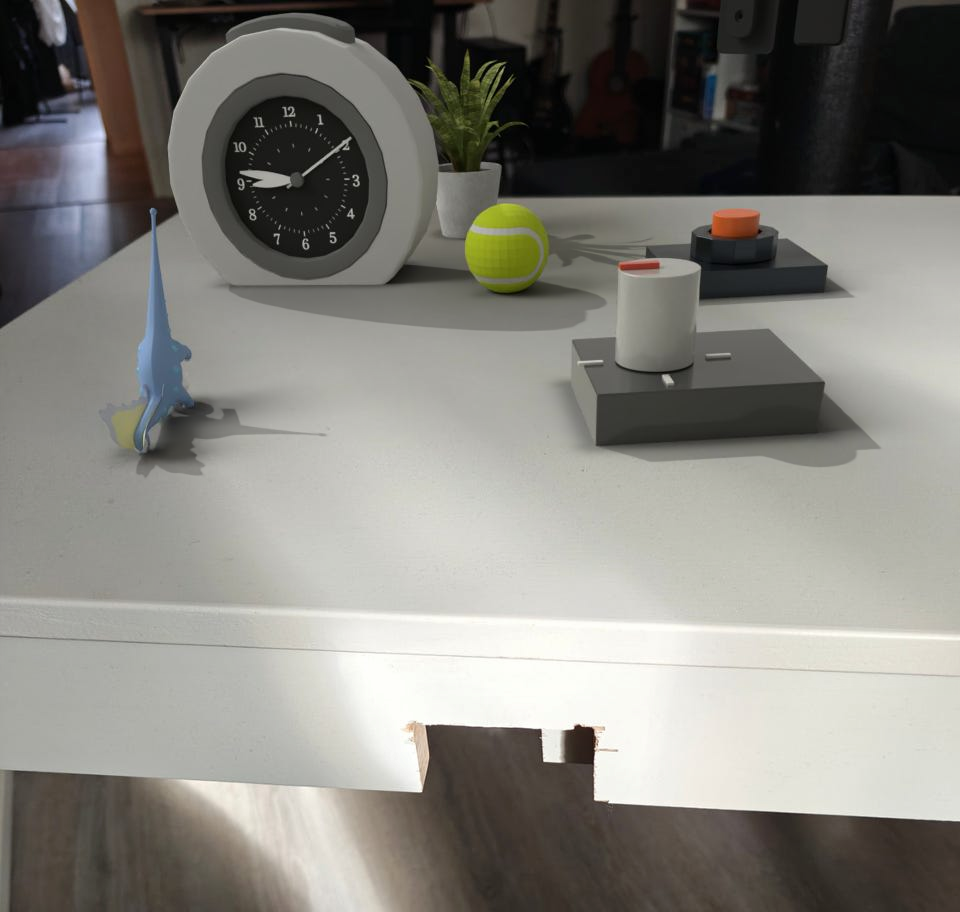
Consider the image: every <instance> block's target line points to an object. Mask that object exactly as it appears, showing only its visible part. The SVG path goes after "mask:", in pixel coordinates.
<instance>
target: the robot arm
mask: <svg viewBox="0 0 960 912" xmlns="http://www.w3.org/2000/svg"><path fill="white" fill-rule="evenodd" d="M853 1H854V0H798V3H797V12H796V18H795V26H794V27H795V28H794V36H793V43H794V44H795V45H796V46H800V47H801V46H802V47H806V46H807V47H839V46H841V47H842V46H843V45H844V44H845V43H846V42H847V40H848V34H849V26H850V21H851V20H850V19H851V14H852V7H853ZM779 5H780V0H720V8H719V18H718V28H717V29H718V30H717V40H716V50H717V52H718V53H719V54H721V55H722V54H723V55H768V54H770V53H771V52H772V51H773V49H774V46H775V39H776V29H777V21H778V15H779V14H778V13H779Z"/></svg>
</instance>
